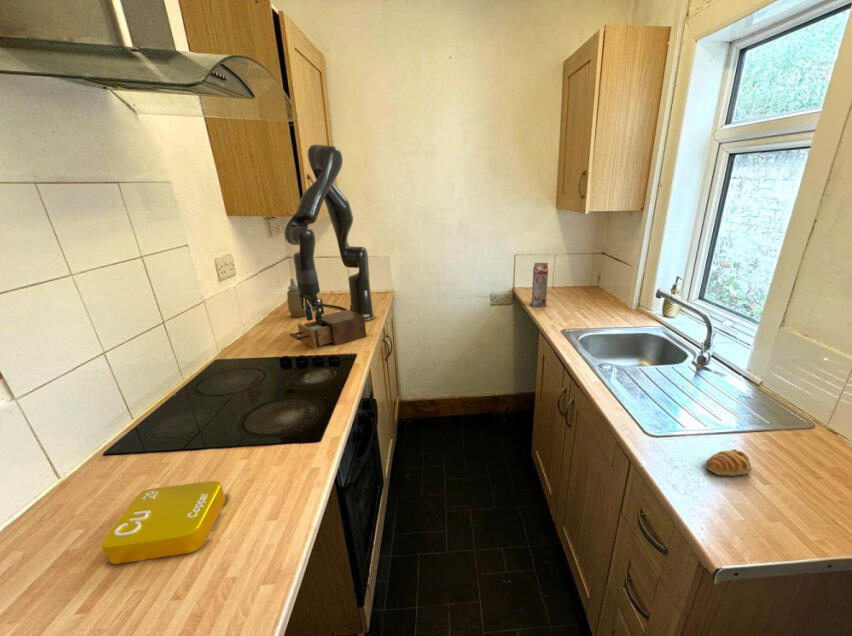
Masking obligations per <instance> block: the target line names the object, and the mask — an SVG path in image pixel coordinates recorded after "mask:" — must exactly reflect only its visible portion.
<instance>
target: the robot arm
mask: <svg viewBox="0 0 852 636" xmlns="http://www.w3.org/2000/svg"><path fill="white" fill-rule="evenodd" d="M307 159H308V163H309V167H310V169H311V171H312V174H313V176H314V178H315V181H314V182H313V183H312V184H311V185H310V186H309V187H308V188H307V189H306V190H305V191H304V193H303V194H302V196H301V197H300V200H299V203H298V206H297V209H296V212H295V213H294V214H293V215H292V216H291V218H290V219H289V221H288V223H287V224H286V225H285V227H284V231H283V232H284V233H283V234H284V239H285V241H286V242H287V243H288V244H290V245H291V246H299V250H298V251H297V252H295V253H293V256H292V258H293V264H294V269H295V280H296V286H298V291H299V296H300V302H301V307H302V309H304V311H306V312H305V317H306V321H310V322H311V321H312V320H313V319H314V318H315V321H316V324H317V325H321V324H322V317H321V316H323V315H325V311H324V307H329V308H336V309H340V310H342V311H345V310H348V309H347V308H345V307H342V306H338V305H333V304H326V303H323V299H322V298H318V296H317V295H318V294H319V293H320V291H321V290H320V284H319V278H318V273H317V269H316V264H315V257H314V256H315V247H316V236H315V232H314V230H313V229H312V228H311V227H310V226H309V225H312V224H315V223H316V221H317V220H318V217H319V214H320V211H321V208H322V205H323V203H324V204H325V206H326V211H327V213H328V217H329V220H330V223H331V225H332V228H333V232H334V235H335V238H336V242H337V246H338V250H339V254H340V255H339V256H340V258H341V262H342V264H343V265H344V267H345V268H348V269H358V271H357V273H355V274H352V275H350V276H348V277H347V278H348V279H347V280H348V287H349V296H350V299H349V301H350V305H349V310H350V311H352V312H355V313H358V314H360V315H363V316H364V320H365V322H367V321H372V320H373V319H374V312H373V301H372V293H371V285H370V267H369V254H368V251H367V249H366V247H363V246H351V245H350V244H349V241H348V240H349V239H348V238H349V233H350V231H351V229H352V227H353V222H354V216H353V212H352V208H351V204H350V202H349V200H348V199H347V197H346V196H345V195H344V194H343V192H342V191H341V190H340V189H339V188H338V186H337V185H336V184H335V181H336V179H337V177H338V175H339V173H340V172H341V169H342V168H343V167H342V166H343V160H344V159H343V155H342V152H341V150H340V148H338V147H336V146H335V145H334V146H333V145H326V144H311V145H309V147H308V151H307ZM313 314H314V317H313Z"/></svg>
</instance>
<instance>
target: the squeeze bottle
mask: <svg viewBox="0 0 852 636" xmlns="http://www.w3.org/2000/svg"><path fill="white" fill-rule="evenodd" d="M289 282H290V283H289V286H287V289H288V291H287V292H286V295H287V297H286V298H287V307H288V308H287V309H288V311H289V313H290V315H291V317H293V318H301V317H304V316H306V313H305V312H306V311H304V309H302V307H301V302H300V296H299V291H298V285H297V283H296V282H295V280H294V278H290V281H289Z"/></svg>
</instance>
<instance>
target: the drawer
mask: <svg viewBox="0 0 852 636" xmlns="http://www.w3.org/2000/svg"><path fill="white" fill-rule="evenodd" d="M316 325H317V324H316V320H315V321H310V322H306V323H304V324H302V323H298V324H297V329H298V332H295V333H293V332H291V333H290V334H289V337H291V338H292V339H295V340H297V341H300V342H301V343H302V344H305V345H307V346H308V347H310V348H312V349H318V346H323V345H327V344H331V342H333V336H332V329H331V325H329V324H327V323H324V322H322V324H321V325H320V326H322V327H321V328H317V329H316V334H317V340H318V342H316V339H315V333H314V330H313V329H311V328H308V327H312V326H316Z"/></svg>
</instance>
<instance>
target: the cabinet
mask: <svg viewBox="0 0 852 636" xmlns="http://www.w3.org/2000/svg"><path fill="white" fill-rule="evenodd" d="M321 317H322V322H324V323H327V324H329V325H331V329H332V336H333V342H331V343H330V344H331V345H333V346H338V345H342V344H345V343H348V342H351V341H356V340H359V339H362V338H365V337H367V328H366V321H365V320H364V316H363V315H360V314H358V313H355V312H352V311H350V309H347V310H342V311H336V312H333V313H329V314H328V313H327V314H323V315H321Z"/></svg>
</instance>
